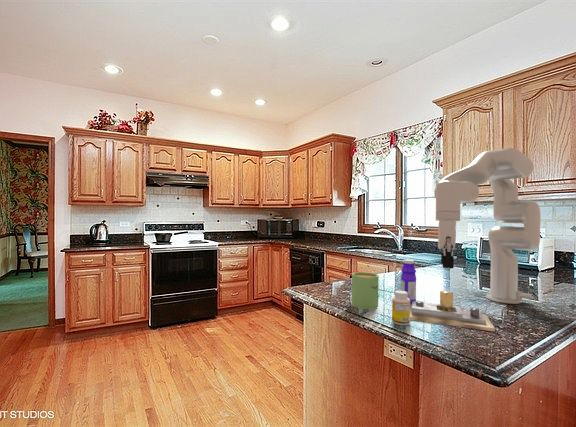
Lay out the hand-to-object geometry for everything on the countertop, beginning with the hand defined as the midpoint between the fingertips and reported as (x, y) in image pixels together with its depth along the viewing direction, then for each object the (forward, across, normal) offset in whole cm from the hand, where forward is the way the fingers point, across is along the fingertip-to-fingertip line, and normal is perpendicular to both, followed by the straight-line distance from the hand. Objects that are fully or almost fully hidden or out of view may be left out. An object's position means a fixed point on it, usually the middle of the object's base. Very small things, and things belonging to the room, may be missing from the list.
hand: (447, 265), depth 107 cm
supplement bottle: (+18, +12, -14) cm, 26 cm away
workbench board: (+18, 0, 0) cm, 18 cm away
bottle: (+18, -15, -13) cm, 27 cm away
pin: (+17, 0, 0) cm, 17 cm away
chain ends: (+18, 0, 0) cm, 18 cm away
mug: (+18, -4, -28) cm, 34 cm away
